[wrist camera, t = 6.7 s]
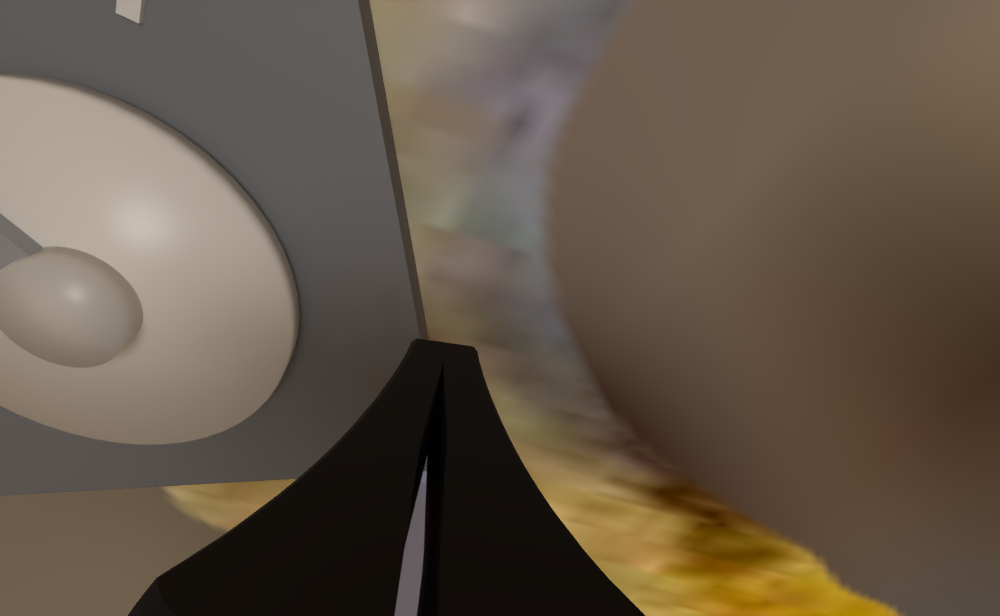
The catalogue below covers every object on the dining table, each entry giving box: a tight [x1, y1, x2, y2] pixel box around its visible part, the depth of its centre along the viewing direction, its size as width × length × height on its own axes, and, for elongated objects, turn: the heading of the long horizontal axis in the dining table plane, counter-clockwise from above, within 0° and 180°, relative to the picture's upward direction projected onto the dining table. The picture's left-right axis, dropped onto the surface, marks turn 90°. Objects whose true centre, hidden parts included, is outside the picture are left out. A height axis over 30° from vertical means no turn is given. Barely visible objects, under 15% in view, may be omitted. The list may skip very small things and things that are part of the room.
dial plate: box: [0, 0, 428, 496], centre depth 20 cm, size 22×22×2 cm
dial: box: [0, 73, 300, 445], centre depth 16 cm, size 17×14×5 cm
